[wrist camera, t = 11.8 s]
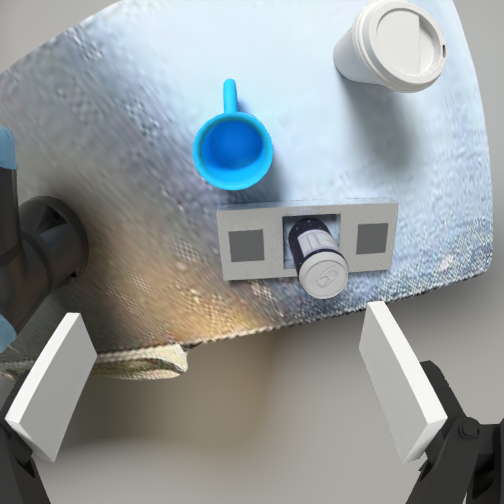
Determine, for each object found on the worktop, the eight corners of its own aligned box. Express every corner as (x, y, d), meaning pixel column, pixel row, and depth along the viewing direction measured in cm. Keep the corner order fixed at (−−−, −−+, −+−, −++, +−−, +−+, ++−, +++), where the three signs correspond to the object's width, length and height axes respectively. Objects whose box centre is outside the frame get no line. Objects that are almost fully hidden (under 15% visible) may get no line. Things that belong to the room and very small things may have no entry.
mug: (270, 172, 41) (275, 187, 33) (206, 176, 41) (197, 193, 33) (264, 79, 35) (268, 73, 28) (198, 84, 36) (185, 80, 28)
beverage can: (279, 235, 44) (288, 281, 34) (309, 207, 43) (329, 245, 32) (306, 261, 46) (322, 310, 35) (336, 234, 44) (361, 278, 34)
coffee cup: (374, 106, 37) (433, 113, 23) (309, 71, 35) (342, 55, 21) (400, 49, 33) (465, 34, 19) (338, 12, 31) (380, -26, 18)
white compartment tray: (225, 271, 47) (223, 280, 44) (217, 205, 42) (215, 211, 40) (384, 261, 46) (390, 269, 44) (391, 197, 42) (398, 203, 40)
